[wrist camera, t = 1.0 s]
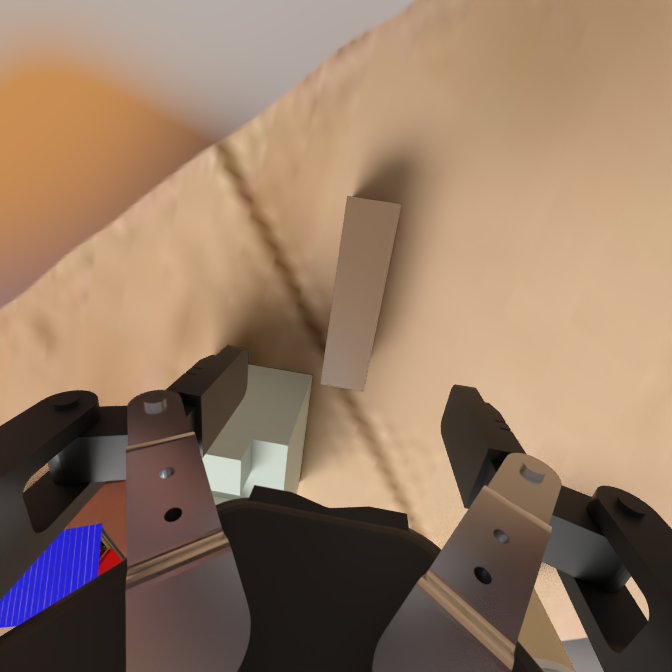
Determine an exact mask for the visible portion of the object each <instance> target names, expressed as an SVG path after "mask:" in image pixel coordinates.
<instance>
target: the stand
mask: <svg viewBox="0 0 672 672" xmlns="http://www.w3.org/2000/svg"><path fill="white" fill-rule="evenodd" d="M312 376H313V375H308V374H302V373H297V372H291V371H285V370H279V369H273V368H267V367H261V366H256V365H250V364H248V383H247V390H246V393H245V396H244V398H243V400H242V401H241V403H240V404H239V406H238V407H237V409H236V410H235V412H234V413H233V415H232V416H231V417H230V419H229V420H228V422H227V423H226V425H225V426H224V428H223V429H222V431H221V432H220V434H219V435H218V437H217V438H216V439H215V441H214V442H213V444H212V445H211V447H210V448H209V450H208V451H207V453H206V454H205V456H204V457H203V458H202V460H203V463H204V467H205V470H206V474H207V477H208V481H209V484H210V488H211V491H212V495H213V498H214V502H215V505H217V504H219V503H222V502H225V501H229V500H233V499H238V498H247V497H249V496H250V494H251V492H252V489H253V487H254V485H257V486H263V487H268V488H273V489H278V490H284V491H289V492H293V493H295V494H296V493H297V489H298V486H299V481H300V473H301V465H302V457H303V449H304V441H305V433H306V425H307V417H308V409H309V401H310V393H311V384H312Z"/></svg>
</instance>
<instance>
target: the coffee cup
mask: <svg viewBox="0 0 672 672" xmlns="http://www.w3.org/2000/svg"><path fill="white" fill-rule="evenodd" d="M518 641H519V642H520V643H521V645H522V646H523V647H524V648H525V649H526V651H527V652H528V653H529V654H530V656H531V657H532V658H533V659H534V660H535V662H536V663H537V664H538V665H539V666H540V668H541V669H542V670H543V671H544V672H576V671H575V669H574V667H573V665H572V663H571V661H570V659H569V657H568V655H567V653H566V651H565V649H564V647H563V644H562V642H561V640H560V638H559V636H558V634H557V632H556V630H555V628H554V626H553V624H552V623H551V621H550V619H549V617H548V615H547V613H546V611H545V609H544V607H543V605H542V603H541V601H540V599H539V597H538V595H537V593H536V591H535V589H534V588H533V592H532V595H531V598H530V601H529V605H528V608H527V611H526V614H525V617H524V621H523V624H522V627H521V630H520V634H519V637H518Z"/></svg>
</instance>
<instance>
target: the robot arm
mask: <svg viewBox="0 0 672 672" xmlns="http://www.w3.org/2000/svg"><path fill="white" fill-rule="evenodd" d="M248 358H249V353H248V349H247V348H242V347H236V346H230V345H228V346H226V347H225V348H224V349H223V350H222V351H221V352H220V353H219V354H218V355H216V356H215V355H211V356H208V357H206V358H203V359H201V360H199V361H198V362H197V363H196V364H195V365H194V366H192V368H190V369H189V370H188V371H187V372H186V374H183V375H182V376H181V377H180V378H179V379H177V380H176V381H175V382H174V383H173V384H172V385H171V386H169V387H168V388H167V389H166V390H153V391H149V392H145V393H142V394H140V395H138V396H136V397H134V398H133V399H132V400H131V401H130V402H129V403H128V405H127V406H103V407H99V402H98V397H97V395H96V394H94V393H92V392H90V391H83V390H76V391H67V392H62V393H58V394H55V395H52V396H50V397H47V398H45V399H44V400H42V401H40V402H38V403H37V404H35V405H34V406H32V407H30V408H29V409H27V410H26V411H24V412H22V413H21V414H19V415H18V416H16V417H14V418H13V419H11V420H10V421H8V422H6V423H5V424H3V425H1V426H0V600H1V599H2V598H3V597H4V596H5V595H6V594H7V592H8V591H9V590H10V589H11V588H12V587H13V586H14V585H15V583H16V582H17V581H18V580H19V579H20V578H21V577H22V576H23V574H24V573H25V572H26V571H27V570H28V569H29V568H30V567H31V565H32V564H33V563H34V562H35V561H36V560H37V559H38V558H39V557H40V555H41V554H42V553H43V552H44V551H45V550H46V549H47V548H48V546H49V545H50V544H51V543H52V542H53V541H54V540H55V539H56V537H57V536H58V535H59V534H60V533H61V532H62V531H63V530H64V529H65V527H66V526H67V525H68V524H69V523H70V522H71V521H72V520H73V518H74V517H75V516H76V515H77V514H78V513H79V512H80V511H81V509H82V508H83V507H84V506H85V505H86V504H87V503H88V502H89V501H90V499H91V498H92V497H93V496H94V495H95V494H96V493H97V492H98V490H99V489H100V488H101V487H102V486H103V485H104V484H105V483H106V481H115V480H126V512H127V558H126V559H125V560H123V561H121V562H120V563H118V564H117V565H115V566H113V567H112V568H110V569H109V570H107V571H105V572H104V573H102V574H100V575H99V576H97V577H96V578H94V579H92V580H91V581H89V582H88V583H86V584H84V585H83V586H81V587H79V588H78V589H76V590H75V591H73V592H71V593H70V594H68V595H67V596H65V597H63V598H62V599H60V600H58V601H57V602H55V603H54V604H52V605H50V606H49V607H47V608H46V609H44V610H42V611H41V612H39V613H37V614H36V615H34V616H33V617H31V618H29V619H28V620H26V621H25V622H23V623H21V624H20V625H18V626H16V627H15V628H13V629H12V630H10V631H8V632H7V633H5V634H4V635H2V636H0V672H544V671H543V670H542V669H541V668H540V666H539V665H538V664H537V663H536V662H535V660H534V659H533V658H532V657H531V656H530V654H529V653H528V652H527V651H526V649H525V648H524V647H523V646H522V645H521V643H520V642H519V641H518V637H519V634H520V630H521V627H522V624H523V621H524V617H525V614H526V611H527V608H528V605H529V601H530V598H531V595H532V592H533V588H534V585H535V582H536V579H537V576H538V572H539V569H540V566H541V563H542V562H544V563H546V564H548V565H550V566H552V567H554V568H556V569H557V572H558V574H559V576H560V578H561V580H562V582H563V585H564V587H565V589H566V591H567V593H568V595H569V598H570V600H571V602H572V604H573V606H574V608H575V610H576V613H577V615H578V617H579V619H580V621H581V623H582V625H583V628H584V630H585V632H586V634H587V636H588V638H589V640H590V642H591V645H592V647H593V649H594V651H595V653H596V655H597V658H598V660H599V662H600V664H601V666H602V668H603V670H604V672H672V529H671V528H670V527H669V526H668V525H667V523H666V522H665V521H664V520H663V519H662V518H661V517H660V516H659V514H658V513H657V512H656V511H655V510H653V509H652V508H651V507H650V506H649V505H647V504H646V503H645V502H643V501H642V500H640V499H639V498H637V497H635V496H634V495H632V494H630V493H628V492H626V491H623V490H621V489H618V488H615V487H611V486H600V487H598V488H597V490H596V491H595V493H594V495H593V496H592V497H590V496H588V495H585V494H582V493H580V492H577V491H575V490H572V489H570V488H567V487H565V486H562V485H561V480H560V478H559V476H558V475H557V474H556V472H555V471H554V470H553V469H552V468H550V467H549V466H548V465H547V464H545V463H544V462H542V461H540V460H539V459H537V458H535V457H532V456H530V455H527V454H526V453H525V451H524V450H523V448H522V447H521V445H520V443H519V442H518V440H517V439H516V437H515V436H514V434H513V433H512V432H511V431H510V430H511V429H510V428H509V426H508V425H507V424H506V423H505V420H504V419H503V417H502V415H501V414H500V412H499V411H497V410H496V409H495V408H494V407H493V406H491V405H490V404H489V403H485V402H484V401H483V399H482V397H481V396H480V394H479V392H478V390H477V389H476V388H474V387H468V386H462V385H456V384H455V385H454V386H453V387H452V389H451V392H450V395H449V398H448V401H447V404H446V407H445V411H444V414H443V417H442V421H441V435H442V438H443V441H444V444H445V448H446V451H447V454H448V457H449V460H450V463H451V466H452V470H453V473H454V476H455V479H456V482H457V485H458V488H459V492H460V495H461V498H462V501H463V504H464V507H465V508H468V511H467V512H466V514H465V515H464V517H463V518H462V520H461V521H460V523H459V524H458V526H457V527H456V529H455V530H454V532H453V534H452V535H451V537H450V538H449V540H448V541H447V543H446V544H445V546H444V547H443V549H442V550H441V549H440V548H439V547H438V546H436V545H435V544H434V543H433V542H432V541H430V540H429V539H427V538H426V537H424V536H423V535H421V534H420V533H418V532H416V531H414V530H412V529H410V528H409V527H408V519H407V514H405V513H400V512H395V511H389V510H384V509H379V508H374V507H348V508H327V507H324V506H322V505H320V504H318V503H315V502H313V501H311V500H308V499H306V498H304V497H302V496H299V495H297V494H295V493H293V492H289V491H284V490H278V489H273V488H268V487H263V486H257V485H254V487H253V489H252V492H251V494H250V496H249V497H247V498H238V499H233V500H229V501H225V502H222V503H219V504H217V505H215V502H214V498H213V495H212V491H211V488H210V484H209V481H208V477H207V474H206V470H205V467H204V463H203V460H202V458H203V457H204V456H205V454H206V453H207V451H208V450H209V448H210V447H211V445H212V444H213V442H214V441H215V439H216V438H217V437H218V435H219V434H220V432H221V431H222V429H223V428H224V426H225V425H226V423H227V422H228V420H229V419H230V417H231V416H232V415H233V413H234V412H235V410H236V409H237V407H238V406H239V404H240V403H241V401H242V400H243V398H244V396H245V393H246V390H247V383H248ZM46 463H48V466H49V471H48V472H47V473H46V474H45V475H43V476H42V477H41V478H40V479H39V480H38V481H37V482H35V483H34V484H33V485H32V486H31V487H30V488H28V489H27V490H26V491H25V492H24V493H23V490H24V487H25V485H26V483H27V482H28V480H29V479H30V478H31V476H32V475H33V474H35V473H36V472H37V471H38V470H39V469H40V468H42V467H43V466H44V465H45V464H46ZM631 576H632V578H633V579H634V581H635V582H636V584H637V585H638V587H639V588H640V590H641V591H642V593H643V595H644V596H645V598H646V601H647V603H648V607H649V620H648V621H647V619H646V617H645V616H644V614H643V613H642V611H641V609H640V608H639V606H638V605H637V603H636V602H635V600H634V598H633V597H632V595H631V594H630V592H629V590H628V589H627V587H626V586H625V584H626V582H627V581H628V580H629V578H630V577H631Z"/></svg>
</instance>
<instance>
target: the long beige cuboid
mask: <svg viewBox="0 0 672 672" xmlns="http://www.w3.org/2000/svg"><path fill="white" fill-rule="evenodd" d="M401 205H402V204H397V203H390V202H384V201H377V200H370V199H364V198H357V197H351V196H347V202H346V209H345V216H344V223H343V230H342V237H341V244H340V251H339V258H338V265H337V272H336V279H335V286H334V293H333V300H332V307H331V314H330V321H329V328H328V335H327V342H326V349H325V356H324V363H323V370H322V377H321V384H323V385H329V386H334V387H340V388H346V389H351V390H357V391H364V386H365V381H366V376H367V372H368V367H369V362H370V357H371V352H372V347H373V342H374V337H375V332H376V327H377V323H378V318H379V313H380V308H381V303H382V298H383V293H384V288H385V283H386V279H387V274H388V269H389V264H390V259H391V254H392V249H393V244H394V239H395V234H396V230H397V225H398V220H399V215H400V210H401Z"/></svg>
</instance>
